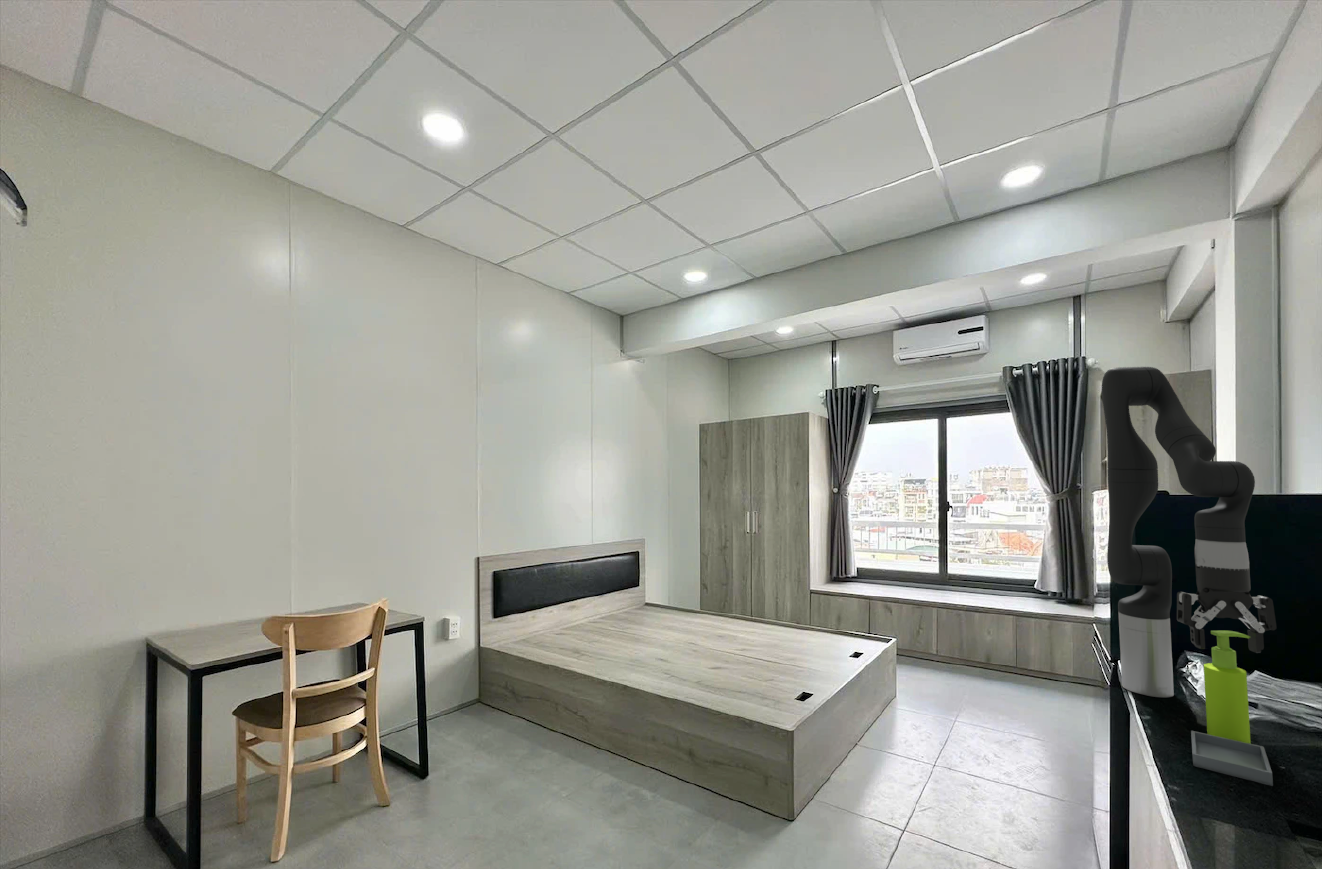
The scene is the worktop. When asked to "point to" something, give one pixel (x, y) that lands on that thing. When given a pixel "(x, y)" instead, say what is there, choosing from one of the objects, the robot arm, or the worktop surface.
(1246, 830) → the worktop surface
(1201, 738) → the tray
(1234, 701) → the soap dispenser
